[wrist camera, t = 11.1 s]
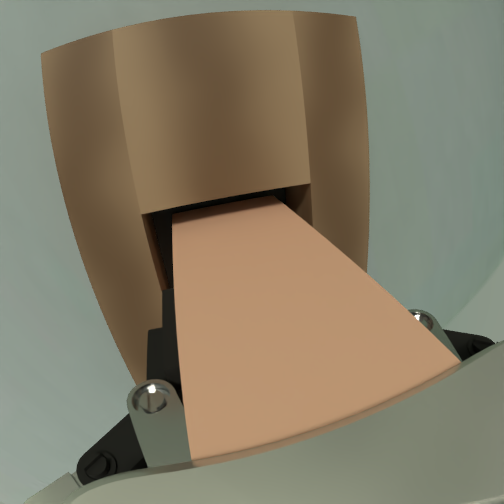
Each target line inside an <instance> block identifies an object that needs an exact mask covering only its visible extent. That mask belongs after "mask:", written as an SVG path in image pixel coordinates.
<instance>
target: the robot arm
mask: <svg viewBox="0 0 504 504" xmlns="http://www.w3.org/2000/svg"><path fill="white" fill-rule="evenodd" d="M408 311H409V312H410V313H411V314H412V315H413V316H414V317H415V318H416V319H417V320H418V321H419V322H421V323H422V324H423V325H424V326H425V327H426V328H427V329H428V330H429V331H430V332H431V333H432V334H433V335H434V336H435V337H436V338H437V339H438V340H439V341H440V342H441V343H442V344H443V345H444V346H446V347H447V348H448V349H449V350H450V351H451V352H452V353H453V354H454V355H455V356H456V357H457V358H458V359H459V360H460V361H461V363H460V364H458V365H456V366H454V367H453V368H451V369H449V370H447V371H445V372H444V373H442V374H440V375H438V376H436V377H434V378H433V379H431V380H429V381H427V382H425V383H423V384H421V385H419V386H417V387H415V388H413V389H411V390H409V391H407V392H405V393H403V394H401V395H399V396H397V397H394V398H392V399H390V400H388V401H386V402H384V403H381V404H379V405H377V406H375V407H372V408H370V409H368V410H365V411H363V412H360V413H358V414H355V415H353V416H350V417H348V418H345V419H343V420H340V421H337V422H335V423H332V424H329V425H326V426H324V427H321V428H318V429H315V430H312V431H309V432H306V433H303V434H300V435H297V436H293V437H290V438H287V439H284V440H280V441H277V442H273V443H270V444H266V445H262V446H259V447H255V448H251V449H247V450H242V451H238V452H234V453H229V454H225V455H220V456H215V457H210V458H205V459H200V460H194V461H192V460H191V454H190V447H189V441H188V434H187V426H186V419H185V411H184V403H183V394H182V385H181V375H180V365H179V354H178V342H177V329H176V314H175V297H174V288H171V289H167V290H162V327H160V328H155V329H150V330H148V339H147V373H146V381H144V382H142V383H140V384H138V385H137V386H135V387H134V388H133V389H132V390H131V392H130V393H129V394H128V398H127V408H128V411H129V414H127V415H126V416H125V417H124V418H123V419H122V420H121V421H120V422H119V423H118V424H117V425H116V426H114V427H113V428H112V429H111V430H110V431H109V432H108V433H107V434H106V435H105V436H103V437H102V438H101V439H100V440H99V441H98V442H97V443H96V444H95V445H93V446H92V447H91V448H90V449H89V450H88V451H87V452H86V453H85V454H84V455H83V456H82V457H81V458H80V459H79V462H78V464H77V470H76V472H74V473H73V474H70V473H69V472H68V473H66V474H65V475H63V476H62V477H60V478H59V479H57V480H56V481H54V482H53V483H51V484H50V485H48V486H47V487H45V488H44V489H42V490H41V491H39V492H38V493H36V494H35V495H33V496H31V497H30V498H28V499H27V500H26V501H25V502H24V504H504V341H501V342H497V343H496V344H495V343H494V342H493V341H492V340H490V339H489V338H487V337H484V336H480V335H474V334H468V333H461V332H455V331H449V330H444V329H442V328H441V326H440V325H439V323H438V321H437V320H436V319H435V317H434V316H433V315H431V314H430V313H428V312H426V311H423V310H417V309H411V310H408Z"/></svg>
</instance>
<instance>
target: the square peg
mask: <svg viewBox="0 0 504 504" xmlns="http://www.w3.org/2000/svg"><path fill="white" fill-rule="evenodd" d="M172 244H173V276H174V297H175V314H176V329H177V342H178V354H179V365H180V375H181V385H182V394H183V403H184V411H185V419H186V426H187V434H188V441H189V447H190V454H191V460H192V461H194V460H200V459H205V458H210V457H215V456H220V455H225V454H229V453H234V452H238V451H242V450H247V449H251V448H255V447H259V446H262V445H266V444H270V443H273V442H277V441H280V440H284V439H287V438H290V437H293V436H297V435H300V434H303V433H306V432H309V431H312V430H315V429H318V428H321V427H324V426H326V425H329V424H332V423H335V422H337V421H340V420H343V419H345V418H348V417H350V416H353V415H355V414H358V413H360V412H363V411H365V410H368V409H370V408H372V407H375V406H377V405H379V404H381V403H384V402H386V401H388V400H390V399H392V398H394V397H397V396H399V395H401V394H403V393H405V392H407V391H409V390H411V389H413V388H415V387H417V386H419V385H421V384H423V383H425V382H427V381H429V380H431V379H433V378H434V377H436V376H438V375H440V374H442V373H444V372H445V371H447V370H449V369H451V368H453V367H454V366H456V365H458V364H460V363H461V361H460V360H459V359H458V358H457V357H456V356H455V355H454V354H453V353H452V352H451V351H450V350H449V349H448V348H447V347H446V346H444V345H443V344H442V343H441V342H440V341H439V340H438V339H437V338H436V337H435V336H434V335H433V334H432V333H431V332H430V331H429V330H428V329H427V328H426V327H425V326H424V325H423V324H422V323H421V322H419V321H418V320H417V319H416V318H415V317H414V316H413V315H412V314H411V313H410V312H409V311H408V310H407V309H406V308H404V307H403V306H402V305H401V304H400V303H399V302H398V301H397V300H396V299H395V298H394V297H392V296H391V295H390V294H389V293H388V292H387V291H386V290H385V289H384V288H382V287H381V286H380V285H379V284H378V283H377V282H376V281H375V280H374V279H372V278H371V277H370V276H369V275H368V274H367V273H366V272H364V271H363V270H362V269H361V268H360V267H359V266H358V265H356V264H355V263H354V262H353V261H352V260H351V259H350V258H348V257H347V256H346V255H345V254H344V253H343V252H341V251H340V250H339V249H338V248H337V247H336V246H334V245H333V244H332V243H331V242H330V241H328V240H327V239H326V238H325V237H324V236H322V235H321V234H320V233H319V232H318V231H316V230H315V229H314V228H313V227H312V226H310V225H309V224H308V223H307V222H306V221H304V220H303V219H302V218H301V217H299V216H298V215H297V214H296V213H295V212H293V211H292V210H291V209H290V208H288V207H287V206H286V205H285V204H283V203H282V202H281V201H280V200H278V199H277V198H276V197H275V196H273V195H271V196H265V197H259V198H253V199H248V200H242V201H236V202H231V203H226V204H220V205H215V206H210V207H205V208H200V209H195V210H190V211H185V212H180V213H175V214H172Z"/></svg>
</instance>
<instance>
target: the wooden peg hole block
mask: <svg viewBox="0 0 504 504" xmlns="http://www.w3.org/2000/svg"><path fill="white" fill-rule="evenodd" d="M41 63H42V76H43V86H44V95H45V103H46V111H47V118H48V124H49V130H50V136H51V142H52V147H53V152H54V157H55V162H56V167H57V171H58V176H59V180H60V184H61V189H62V193H63V196H64V200H65V204H66V208H67V211H68V215H69V219H70V222H71V225H72V229H73V232H74V235H75V239H76V242H77V245H78V248H79V251H80V254H81V257H82V260H83V263H84V266H85V269H86V271H87V274H88V277H89V280H90V282H91V285H92V288H93V290H94V293H95V295H96V298H97V301H98V303H99V306H100V308H101V310H102V313H103V315H104V318H105V320H106V322H107V325H108V327H109V329H110V331H111V334H112V336H113V338H114V340H115V343H116V345H117V347H118V349H119V351H120V353H121V355H122V357H123V359H124V361H125V364H126V366H127V368H128V370H129V372H130V374H131V375H132V377H133V379H134V381H135V383H136V385H138V384H140V383H142V382H144V381H146V373H147V339H148V330H150V329H155V328H160V327H162V290H167V289H171V288H170V285H169V281H168V277H167V274H166V270H165V266H164V262H163V258H162V254H161V250H160V246H159V242H158V238H157V234H156V230H155V226H154V221H153V217H152V212H155V211H159V210H164V209H169V208H174V207H178V206H183V205H188V204H193V203H198V202H203V201H209V200H214V199H219V198H225V197H230V196H236V195H241V194H247V193H253V192H258V191H264V190H270V189H277V188H283V187H285V196H286V206H287V207H288V208H290V209H291V210H292V211H293V212H295V213H296V214H297V215H298V216H299V217H301V218H302V219H303V220H304V221H306V222H307V223H308V224H309V225H310V226H312V227H313V228H314V229H315V230H316V231H318V232H319V233H320V234H321V235H322V236H324V237H325V238H326V239H327V240H328V241H330V242H331V243H332V244H333V245H334V246H336V247H337V248H338V249H339V250H340V251H341V252H343V253H344V254H345V255H346V256H347V257H348V258H350V259H351V260H352V261H353V262H354V263H355V264H356V265H358V266H359V267H360V268H361V269H362V270H363V271H364V272H366V273H367V259H368V239H369V200H370V180H369V141H368V121H367V106H366V94H365V83H364V73H363V64H362V56H361V48H360V41H359V34H358V28H357V21H356V17H354V16H346V15H338V14H329V13H318V12H304V11H280V10H253V11H229V12H215V13H204V14H195V15H187V16H179V17H173V18H166V19H160V20H155V21H150V22H144V23H140V24H135V25H130V26H126V27H122V28H118V29H114V30H110V31H106V32H103V33H99V34H96V35H92V36H89V37H86V38H82V39H79V40H76V41H73V42H70V43H67V44H65V45H62V46H59V47H56V48H54V49H51V50H48V51H46V52H43V53H41Z"/></svg>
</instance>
